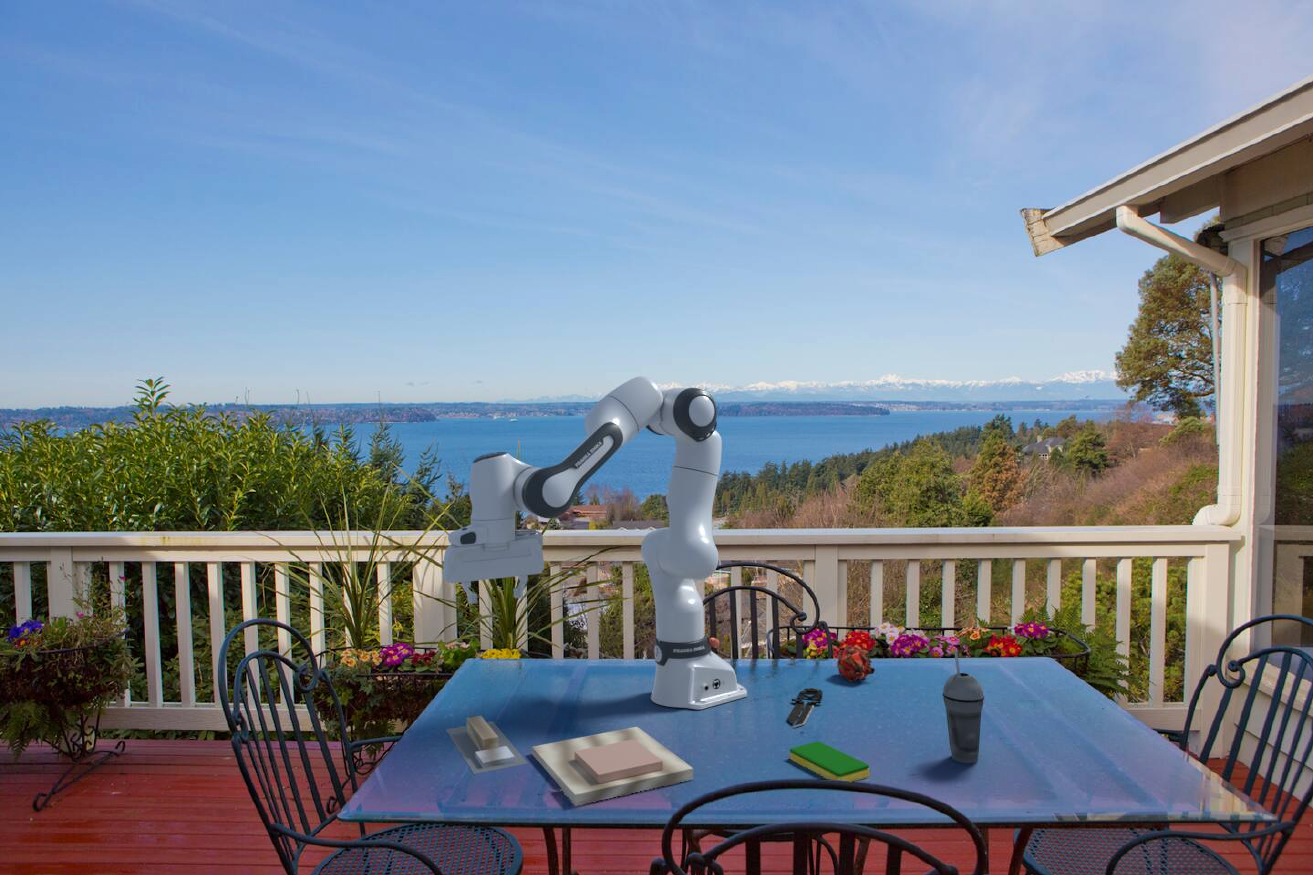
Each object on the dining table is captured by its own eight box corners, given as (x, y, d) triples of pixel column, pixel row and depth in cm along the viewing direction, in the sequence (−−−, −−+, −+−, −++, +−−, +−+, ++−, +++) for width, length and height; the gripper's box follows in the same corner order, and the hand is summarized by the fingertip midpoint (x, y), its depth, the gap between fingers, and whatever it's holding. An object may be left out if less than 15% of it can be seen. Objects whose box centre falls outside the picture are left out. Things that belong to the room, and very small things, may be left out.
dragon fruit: (853, 677, 207) (862, 698, 195) (825, 658, 207) (833, 679, 195) (873, 651, 206) (883, 671, 194) (845, 632, 205) (854, 651, 194)
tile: (634, 739, 154) (662, 760, 143) (634, 747, 154) (662, 769, 143) (574, 751, 148) (598, 774, 138) (574, 759, 148) (599, 783, 138)
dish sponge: (818, 752, 155) (818, 740, 155) (870, 778, 143) (870, 764, 143) (789, 761, 152) (788, 748, 152) (839, 788, 139) (838, 773, 139)
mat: (492, 723, 174) (492, 721, 174) (528, 766, 151) (528, 763, 151) (445, 732, 170) (445, 729, 170) (474, 777, 146) (474, 774, 146)
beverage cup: (982, 769, 145) (979, 656, 145) (939, 761, 148) (936, 651, 148) (989, 755, 151) (986, 647, 151) (948, 748, 155) (946, 642, 155)
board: (637, 736, 165) (636, 726, 165) (693, 779, 143) (693, 768, 143) (532, 757, 155) (531, 746, 155) (575, 806, 134) (575, 794, 134)
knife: (801, 731, 167) (801, 724, 167) (770, 727, 169) (770, 720, 169) (830, 695, 189) (830, 689, 189) (803, 692, 192) (803, 686, 192)
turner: (488, 728, 170) (488, 714, 170) (515, 761, 152) (514, 745, 152) (459, 733, 167) (459, 719, 167) (483, 768, 149) (482, 751, 149)
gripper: (537, 526, 173) (540, 591, 173) (440, 535, 164) (442, 603, 164) (547, 529, 167) (549, 596, 167) (446, 538, 158) (448, 609, 158)
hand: (495, 600), depth 166 cm, fingers open, 8 cm apart
